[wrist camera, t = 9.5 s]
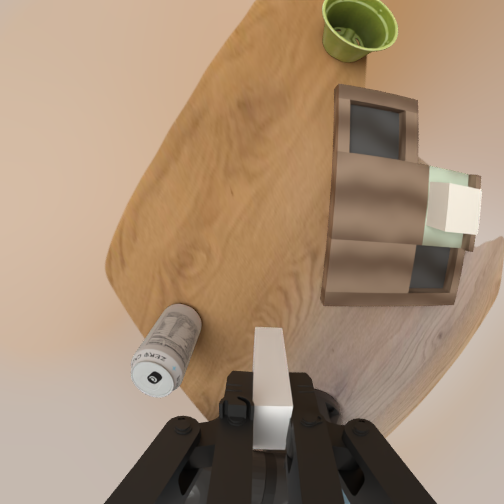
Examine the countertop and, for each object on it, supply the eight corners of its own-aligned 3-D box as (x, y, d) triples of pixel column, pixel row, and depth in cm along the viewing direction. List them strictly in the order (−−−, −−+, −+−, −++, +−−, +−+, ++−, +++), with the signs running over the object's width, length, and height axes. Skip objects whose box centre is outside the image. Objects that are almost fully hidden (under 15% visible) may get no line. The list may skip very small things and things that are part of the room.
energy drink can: (155, 318, 43) (116, 375, 29) (180, 293, 42) (145, 346, 28) (185, 344, 44) (158, 409, 30) (211, 321, 43) (191, 384, 28)
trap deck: (446, 299, 42) (460, 309, 37) (320, 298, 42) (326, 311, 38) (464, 119, 35) (480, 116, 31) (334, 89, 35) (342, 79, 31)
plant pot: (357, 14, 32) (375, -14, 24) (385, 66, 34) (411, 45, 26) (300, 25, 33) (308, -6, 25) (328, 79, 35) (344, 56, 26)
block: (457, 228, 37) (477, 235, 32) (425, 225, 37) (444, 231, 32) (461, 187, 35) (482, 189, 30) (429, 181, 35) (449, 182, 30)
